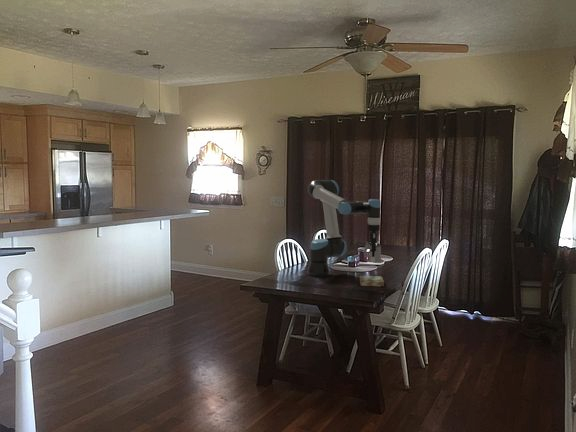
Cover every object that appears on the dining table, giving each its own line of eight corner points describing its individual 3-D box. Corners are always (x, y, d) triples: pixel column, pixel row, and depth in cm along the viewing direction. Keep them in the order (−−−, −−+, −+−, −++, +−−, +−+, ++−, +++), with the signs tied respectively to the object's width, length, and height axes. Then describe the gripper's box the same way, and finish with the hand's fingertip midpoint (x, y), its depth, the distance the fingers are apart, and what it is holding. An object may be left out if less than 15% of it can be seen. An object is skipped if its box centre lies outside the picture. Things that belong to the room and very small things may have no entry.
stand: (360, 285, 295) (360, 280, 295) (359, 280, 309) (359, 275, 308) (383, 286, 294) (383, 281, 293) (381, 281, 307) (381, 275, 307)
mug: (378, 263, 294) (378, 244, 293) (360, 260, 301) (361, 242, 300) (383, 261, 300) (384, 242, 299) (366, 259, 307) (366, 240, 306)
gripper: (381, 226, 287) (379, 263, 289) (378, 222, 307) (376, 257, 309) (368, 226, 287) (367, 263, 290) (366, 222, 308) (365, 257, 310)
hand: (372, 260), depth 300 cm, fingers closed on mug, 8 cm apart
